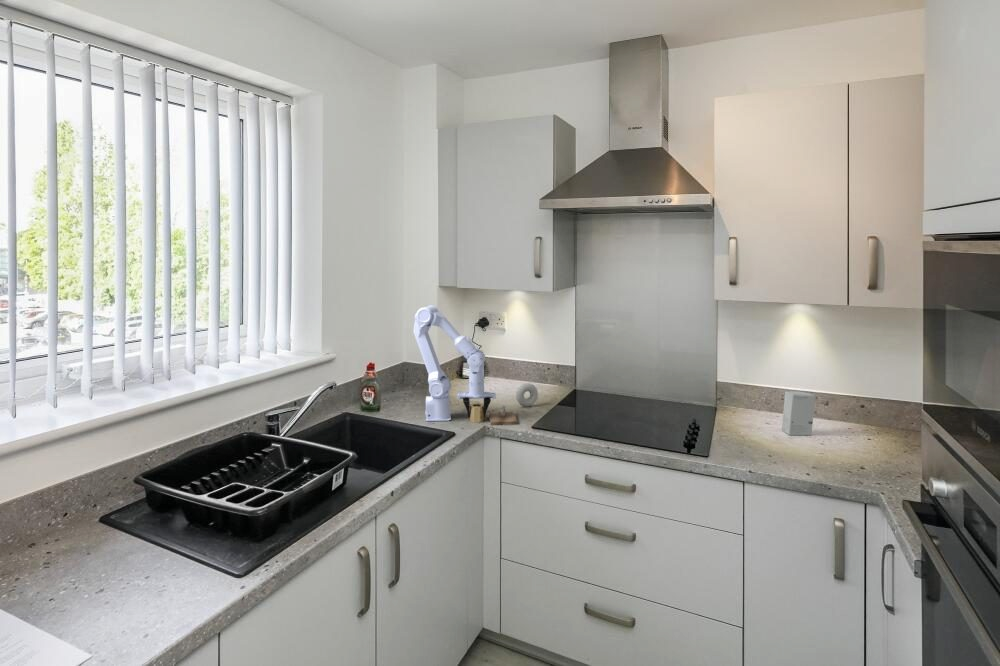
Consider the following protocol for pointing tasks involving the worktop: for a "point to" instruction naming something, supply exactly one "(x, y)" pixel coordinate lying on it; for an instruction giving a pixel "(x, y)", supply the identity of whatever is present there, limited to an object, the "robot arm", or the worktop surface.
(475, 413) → the hub
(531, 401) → the donut
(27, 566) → the worktop surface
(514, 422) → the shaft stand
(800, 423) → the skincare box
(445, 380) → the robot arm
